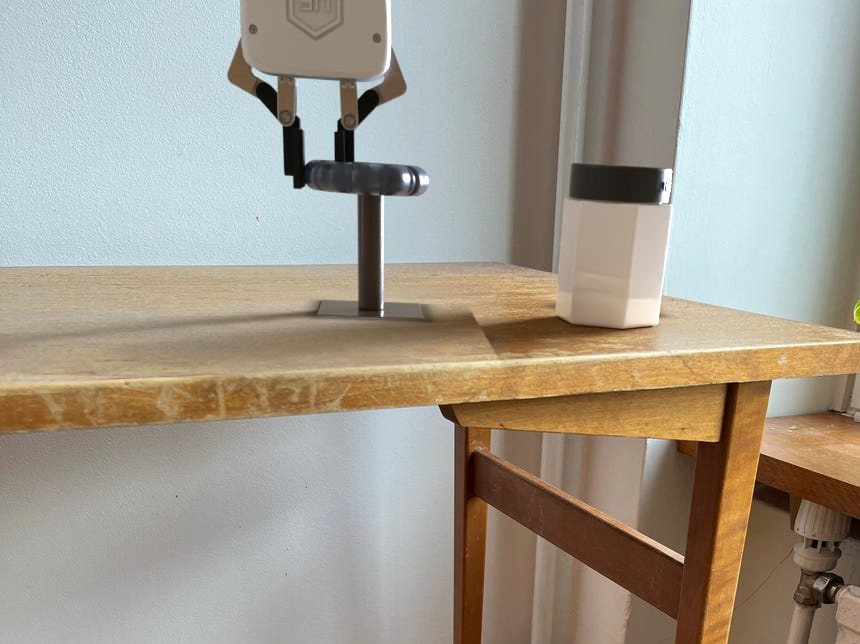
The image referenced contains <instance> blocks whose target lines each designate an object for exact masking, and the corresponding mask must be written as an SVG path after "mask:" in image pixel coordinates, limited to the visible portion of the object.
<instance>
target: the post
mask: <svg viewBox="0 0 860 644" xmlns="http://www.w3.org/2000/svg"><path fill="white" fill-rule="evenodd" d="M356 196H357V197H356V198H357V204H356V205H357V207H356V208H357V300H338V299H337V300H336V299H322V300H321V302H320V305H319V308H318V312H317V314H316V315H317V316H320V317H321V316H322V317H324V316H327V317H349V318H350V317H353V318H381V319H383V318H384V319H405V320H406V319H409V320H424V319H425V318H424V314H423V311H422V308H421V304H420V303H417V302H416V303H415V302H395V301H394V302H393V301H392V302H389V301H385V196H378V195H361V194H356Z"/></svg>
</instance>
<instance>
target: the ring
mask: <svg viewBox="0 0 860 644" xmlns="http://www.w3.org/2000/svg"><path fill="white" fill-rule="evenodd" d="M303 179H304V182H305V183H306V186H307V187H308V188H309V189H311V190H313V191H320V192H327V193H336V194H348V195H357V194H361V195H378V196H384V197H419V196H422V195H424V194H425V193H426V192H427V190H428V188H429V185H430V184H429V183H430V180H429V175H428V173H427V172H426V171H425V169H424V168H422V167H420V166H417V165H410V164H397V163H383V162H369V161H355V163H348V162H335V159H312V160H310V161H308V162H307V163H305V167H304V169H303Z"/></svg>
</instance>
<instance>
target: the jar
mask: <svg viewBox="0 0 860 644" xmlns="http://www.w3.org/2000/svg"><path fill="white" fill-rule="evenodd" d="M672 173H673V170H672V168H670V167H659V166H643V165H623V164H603V163H587V162H586V163H585V162H572V163H571V164H570V173H569V175H570V176H569V185H568V197H565V198H564V200H563V207H562V209H563V210H562V220H561V221H562V222H561V234H560V245H559V259H558V270H557V271H558V272H557V283H556V285H557V287H556V297H555V309H554V314H555V316H556V317H559V318H560V319H562V320H564V321H565V322H567V323H569V324H570V325H579V326H588V327H599V328H607V329H617V330H618V329H620V330H627V329H635V328H636V329H637V328H642V327H643V328H644V327H652V326H657V325H658V324H659V320H660V319H659V317H660V310H661V302H662V296H663V295H662V294H663V287H664V278H665V271H666V263H667V254H668V248H669V247H668V246H669V238H670V230H671V223H672V221H671V220H672V215H673V205H672V204H671V203H669V198H670V193H671V189H672Z"/></svg>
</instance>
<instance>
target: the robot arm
mask: <svg viewBox="0 0 860 644" xmlns="http://www.w3.org/2000/svg"><path fill="white" fill-rule="evenodd" d="M391 12H392V11H391V0H239V18H240V19H239V21H240V38H239V40H238V43H237V45H236V48H235V51H234V54H233V56H232V59H231V62H230V65H229V67H228V70H227V73H226V77H227V80H228V82H229V83H230V84H231V85H234V86H235V87H237V88H239V89H241V90H242V91H243V92H246V93H247V94H248V95H251V96H253V97H254V98H256V99H258V100H259V101H260V102H261V103H262V104H263V106H264V107H265V108H267V109H266V110H268V111H269V112H270V113H271V114H272V115H273V117H274V118H275V119H276V120H277V121H278V122H279V124H280V125H281V126H282V153H283V155H282V156H283V157H282V158H283V175H284V176H286V177H292V188H293V189H294V190H301V189H303V188H305V187H306V186H307V185H306V183H305V182H304V179H303V169H304V167H305V165H306V144H305V143H306V141H305V139H306V137H305V129H303V127H302V118H301V117H300V116H299V115H298V93H299V92H298V89H299V88H298V87H299V86H298V83H299V80H298V79H303V80H304V79H306V80H320V81H335V82H339V83H338V84H339V102H340V104H339V105H340V117H339V119H337V121H336V128H337V129H336V131H334V132H333V140H334V141H333V144H334V145H333V147H334V149H333V150H334V155H333V157H334V160H335V162H348V163H355V162H356V161H355V160H356V159H355V155H356V154H355V151H356V148H355V147H356V146H355V139H356V138H355V137H356V135H355V133H356V132H355V131H356V129H357V128H359V126H360V125H361V124H362V123H363V122H364V121H365V120H366V119H367V118H368V117H369V116H370V115H371V114H372V113H373V111H374V110H375V109H376V108H379V107H381V106H383V105H386V104H387V103H389V102H392V101H394V100H396V99H398V98H400V97H402V96H404V95H405V94H406V93H407V89H408V87H407V82H406V80H405V77H404V75H403V72H402V69H401V67H400V66H401V65H400V64H399V61H398V59H397V56H396V54H395V53H396V52H395V51H394V48H393V46H392V16H391V15H392V13H391ZM253 68H254V69H255V70H257V71H258V72H260V73H262V74H265V75H267V76H271V77H272V76H273V77H277V86H276V87H277V88H276V89H277V90H276V89H275V88H274V87H273V86H272V85H271V84H270V83H268V82H267V81H265V80H263V79H261V78H260V77H258V76H256V75H255V74H254V72H253ZM382 78H383V80H382V82H381V83H379V84H377V85H375V86H373V87H371V88H369V89H366V90H365V91H364V92H363V93H362V94H361V95H360V96H359V94H358V83H370V82H371V83H372V82H375V81H378V80H381V79H382ZM358 96H359V97H358Z"/></svg>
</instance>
